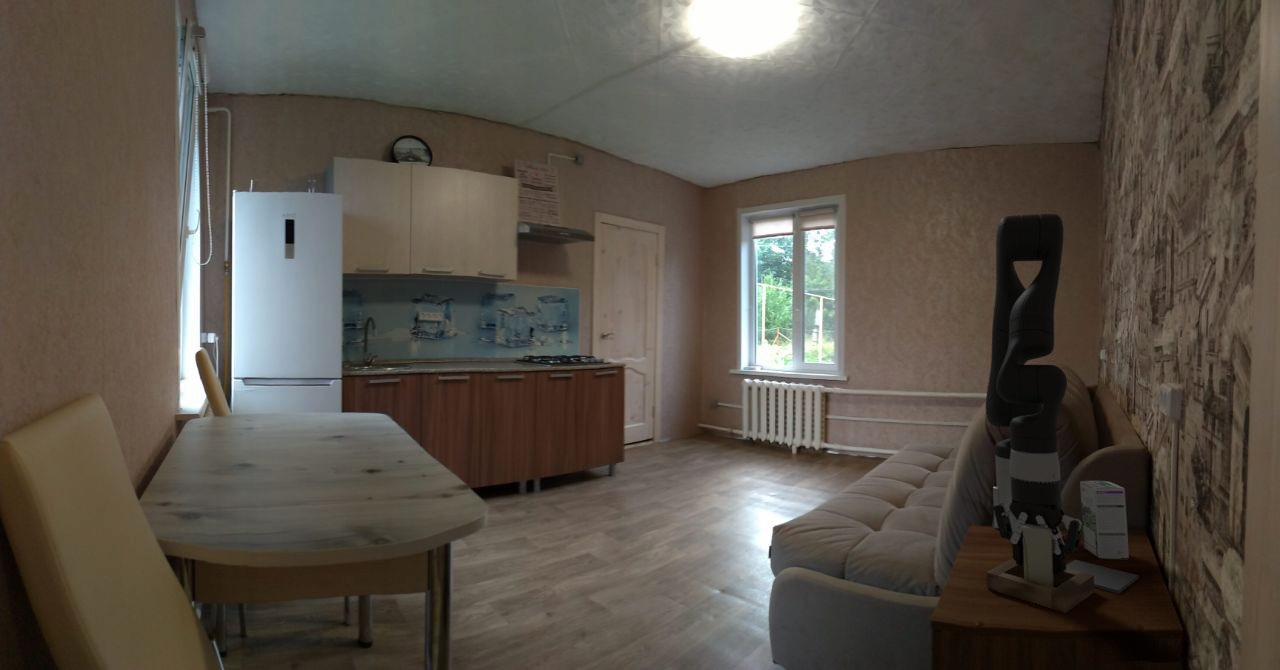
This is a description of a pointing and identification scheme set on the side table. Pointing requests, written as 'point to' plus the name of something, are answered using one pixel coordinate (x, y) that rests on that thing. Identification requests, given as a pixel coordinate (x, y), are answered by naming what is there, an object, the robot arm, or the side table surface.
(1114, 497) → the syrup box
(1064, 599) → the walnut collar
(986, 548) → the side table surface
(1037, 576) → the skincare box
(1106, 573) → the rubber mat
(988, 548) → the side table surface
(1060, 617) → the side table surface
